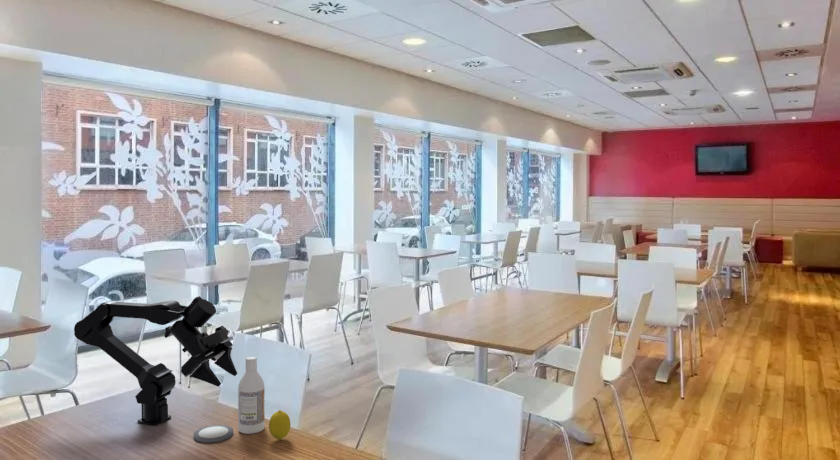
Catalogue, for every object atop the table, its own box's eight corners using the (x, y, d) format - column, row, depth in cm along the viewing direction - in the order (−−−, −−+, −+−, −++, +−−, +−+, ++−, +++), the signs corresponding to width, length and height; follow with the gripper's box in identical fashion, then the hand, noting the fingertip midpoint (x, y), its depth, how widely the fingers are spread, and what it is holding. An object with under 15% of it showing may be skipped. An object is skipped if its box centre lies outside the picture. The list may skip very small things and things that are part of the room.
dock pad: (185, 439, 158) (185, 436, 158) (210, 425, 168) (210, 422, 168) (216, 445, 155) (216, 442, 155) (240, 431, 164) (240, 427, 164)
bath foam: (266, 432, 164) (266, 359, 162) (240, 436, 161) (240, 362, 159) (261, 423, 170) (261, 353, 169) (236, 426, 167) (236, 356, 166)
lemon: (285, 445, 156) (285, 415, 155) (265, 443, 157) (265, 413, 156) (293, 436, 161) (293, 407, 160) (274, 434, 162) (274, 405, 162)
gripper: (191, 326, 156) (230, 371, 155) (226, 312, 175) (262, 351, 173) (163, 354, 158) (203, 398, 157) (201, 337, 177) (236, 376, 175)
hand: (228, 379), depth 166 cm, fingers open, 9 cm apart
